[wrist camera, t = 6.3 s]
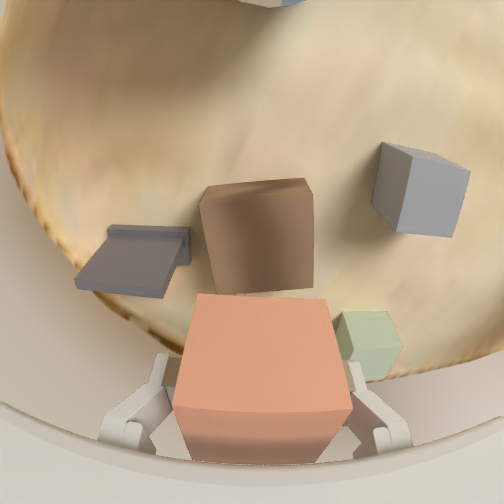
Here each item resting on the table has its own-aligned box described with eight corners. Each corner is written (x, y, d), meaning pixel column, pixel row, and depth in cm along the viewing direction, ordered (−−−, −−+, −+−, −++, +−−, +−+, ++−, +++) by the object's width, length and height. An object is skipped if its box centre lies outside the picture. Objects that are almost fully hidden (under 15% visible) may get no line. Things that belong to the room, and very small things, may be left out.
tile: (189, 227, 23) (165, 281, 16) (191, 259, 24) (171, 319, 18) (111, 224, 23) (68, 272, 16) (116, 255, 24) (80, 307, 18)
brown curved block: (303, 176, 21) (313, 194, 17) (305, 258, 24) (313, 287, 21) (208, 185, 21) (198, 204, 18) (222, 265, 25) (216, 294, 21)
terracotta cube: (325, 299, 11) (353, 408, 7) (304, 373, 14) (314, 462, 9) (197, 293, 11) (171, 404, 7) (205, 370, 14) (192, 459, 9)
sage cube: (387, 310, 27) (403, 346, 23) (372, 344, 30) (384, 379, 25) (342, 310, 27) (354, 349, 23) (330, 345, 29) (338, 382, 25)
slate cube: (434, 153, 19) (470, 171, 15) (421, 210, 21) (451, 237, 17) (381, 141, 19) (412, 156, 15) (370, 203, 21) (395, 232, 17)
